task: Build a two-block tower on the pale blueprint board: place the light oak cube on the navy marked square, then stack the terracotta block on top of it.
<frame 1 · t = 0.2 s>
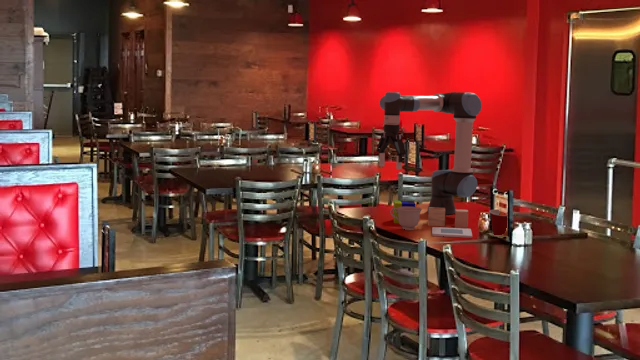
hand: (390, 167, 396), 28 cm above the table, fingers open, 13 cm apart
plastic cup: (500, 237, 369), on the table
teacup: (405, 229, 385), on the table
terracotta block: (461, 226, 395), on the table
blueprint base: (451, 233, 377), on the table
puzzle toy: (403, 222, 406), on the table
oak cube: (436, 224, 399), on the table
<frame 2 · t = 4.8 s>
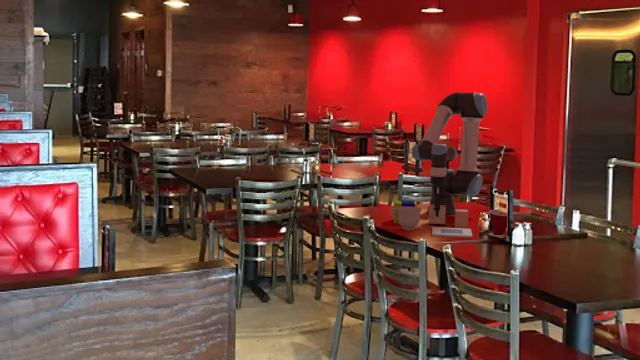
hand: (436, 221, 400), 2 cm above the table, fingers closed on oak cube, 8 cm apart
oak cube: (436, 222, 400), point 1 cm above the table, touching gripper
everything else where it was.
when the fingers open (3 cm above the table, at t = 11.5 s): oak cube drops 1 cm, resting on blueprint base.
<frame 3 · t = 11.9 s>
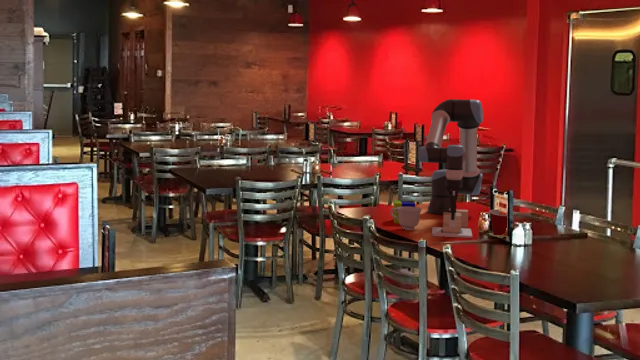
hand: (452, 224, 376), 4 cm above the table, fingers open, 13 cm apart
oak cube: (451, 231, 377), point 1 cm above the table, touching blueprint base
everything else where it was.
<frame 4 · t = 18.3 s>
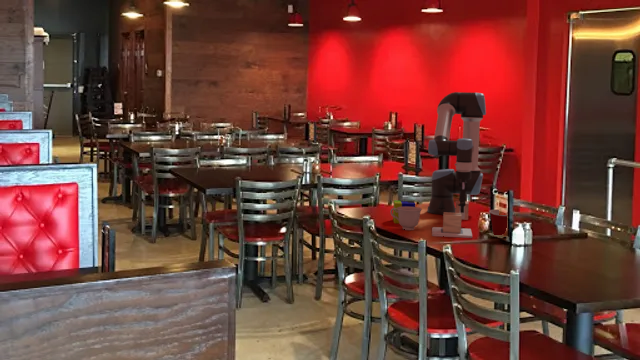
hand: (461, 217, 395), 4 cm above the table, fingers closed on terracotta block, 6 cm apart
terracotta block: (461, 218, 395), point 4 cm above the table, touching gripper
everything else where it was.
when the fingers open (10 cm above the table, at t = 22.8 s): terracotta block stays where it is, resting on oak cube.
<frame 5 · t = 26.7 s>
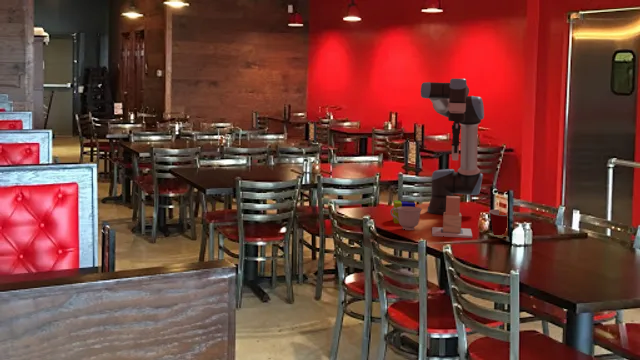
hand: (454, 158, 372), 35 cm above the table, fingers open, 13 cm apart
terracotta block: (452, 214, 376), point 9 cm above the table, touching oak cube
oak cube: (451, 231, 377), point 1 cm above the table, touching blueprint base, terracotta block
everything else where it was.
at the end: terracotta block 0.0 cm off-centre on the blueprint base, point 9.1 cm above the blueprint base's base; oak cube inside the target area on the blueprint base (0.1 cm from its centre), point 1.1 cm above the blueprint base's base; terracotta block tilted 0° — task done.
